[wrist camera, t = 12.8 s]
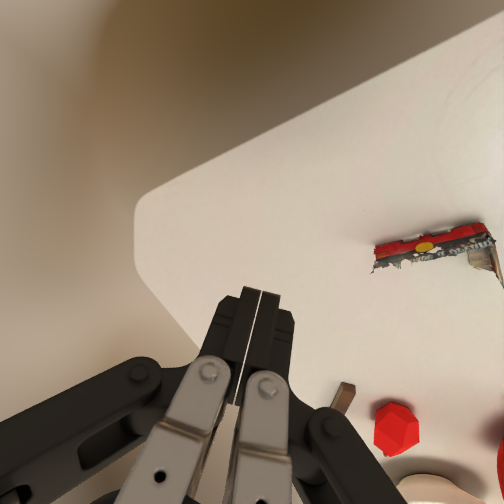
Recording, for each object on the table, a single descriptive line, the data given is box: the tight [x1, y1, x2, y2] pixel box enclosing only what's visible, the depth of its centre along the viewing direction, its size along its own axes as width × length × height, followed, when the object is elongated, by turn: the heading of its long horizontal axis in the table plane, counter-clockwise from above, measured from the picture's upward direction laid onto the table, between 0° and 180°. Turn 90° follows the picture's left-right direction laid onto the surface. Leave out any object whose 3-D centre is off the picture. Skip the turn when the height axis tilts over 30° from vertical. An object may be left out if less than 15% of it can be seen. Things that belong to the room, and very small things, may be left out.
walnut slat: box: [330, 383, 356, 415], centre depth 57 cm, size 10×2×2 cm, turn 172°
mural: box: [370, 222, 504, 288], centre depth 38 cm, size 12×7×6 cm, turn 115°
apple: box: [374, 402, 419, 457], centre depth 54 cm, size 7×7×8 cm
